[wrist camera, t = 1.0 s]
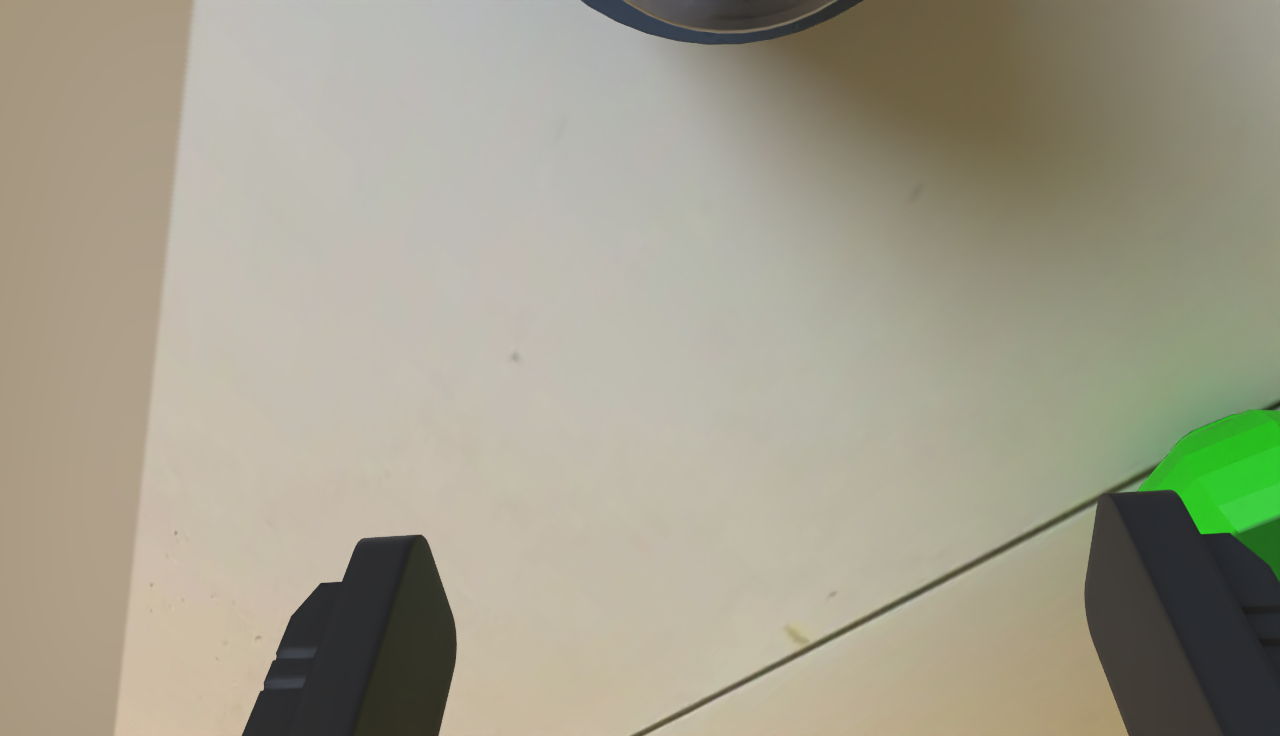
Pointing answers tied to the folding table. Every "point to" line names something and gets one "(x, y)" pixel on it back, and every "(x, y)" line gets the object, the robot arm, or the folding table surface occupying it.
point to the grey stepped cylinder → (615, 8)
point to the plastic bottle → (1230, 480)
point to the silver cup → (729, 13)
